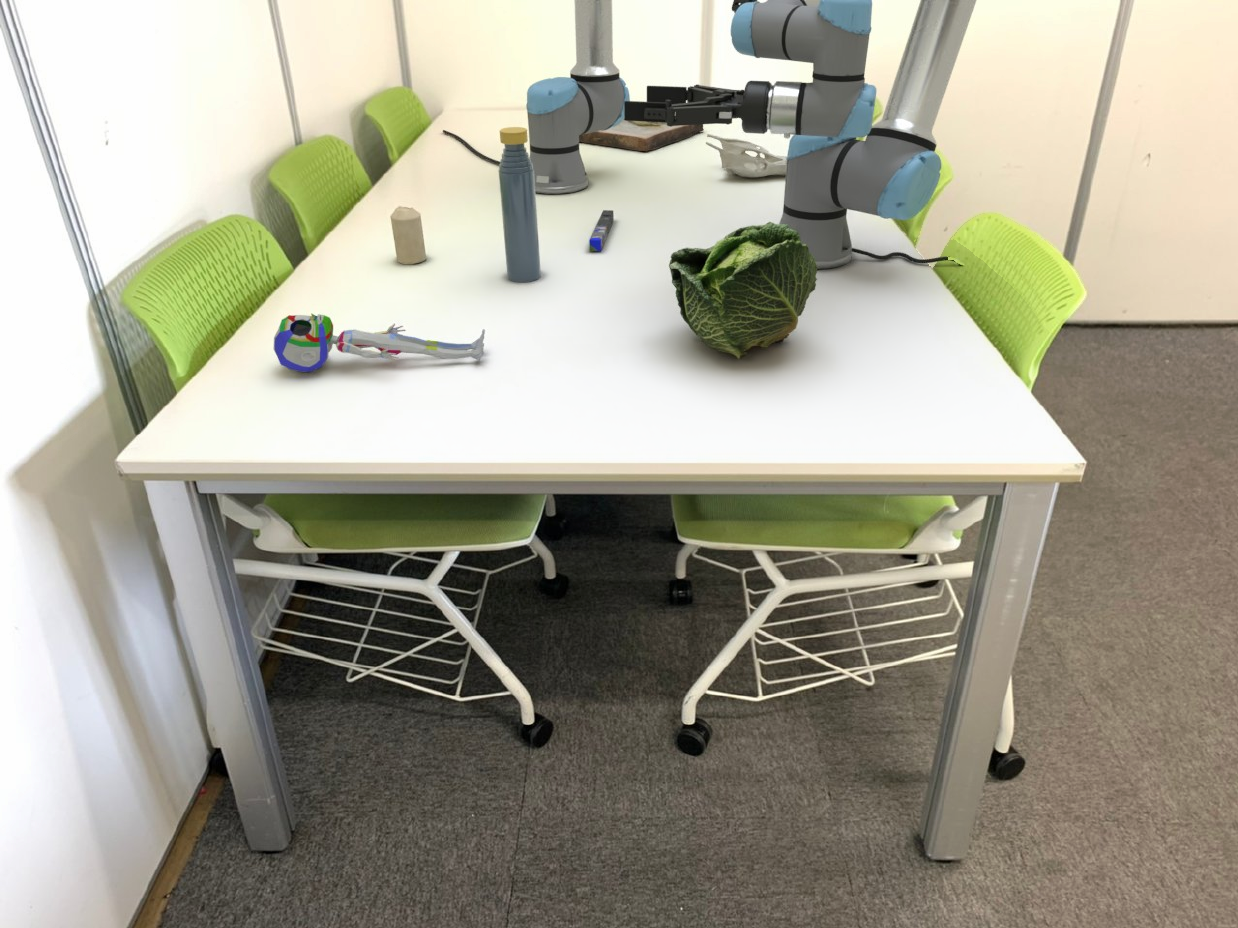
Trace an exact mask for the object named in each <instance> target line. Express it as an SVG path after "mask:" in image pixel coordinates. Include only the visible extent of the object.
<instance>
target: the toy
mask: <svg viewBox="0 0 1238 928" xmlns="http://www.w3.org/2000/svg"><path fill="white" fill-rule="evenodd" d="M401 328H404V325H399V326H396V323H393V324H392V325H390V326H389V327H388V328H387V330H382V331H379V332H378V331H377V332H368V331H363V330H359V329H346V330H343V331H341V332H340V333H339V335H334V324H333V321H332V319H331V317H329V316H327V315H325V314H320V313H319V314H317V315H315V314H314V313H311V315H307V314H306V315H305V314H296V315H294V314H293V315H287V316H286V317H284V318H283V319H281V321H280V324H279V326H278V329H277V331H276V333H275V335H274V336H273V351H274V353H275V355H276V357H277V360H278V362H279V365H281V366H283V367H284V368H287V369H289V370H292V371H297V372H301V373H311V372H313V371H315V370H318V369H320V368H322V367H323V365H324V364H325V363H326V361H327V360H329V359H328V358H329V354H330V352H331V350H332V349H333V345H335V347H336V349H337V351H339V352H340V353H341V354H346V353H347V354H351V355H354V356H360V357H362V358H365V359H378V358H380V359H381V358H382V359H389V360H392V361H395V362H398V360H399V359H400V358H399V357H398V355H400V354H401V353H403V354H416V355H426V356H432V357H435V358H438V359H441V360H457V359H464V358H472V359H475V360H477V361H481V359H482V356H483V355H484V346H485V343H484V340H485V333H486V330H485V328H483V329H482V331H481V335H480V336H479V338H477V339H476V340H475V341H473V342H471V343H455V342H454V343H453V342H446V341H439V340H429V339H427V340H425V339H421V338H418V337H415V336H408V335H403V334H400V333H399V332H406V331H407V329H401ZM367 348H375V349H377V350H378V351H375V350H370V349H367Z"/></svg>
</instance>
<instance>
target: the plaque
mask: <svg viewBox="0 0 1238 928" xmlns="http://www.w3.org/2000/svg"><path fill="white" fill-rule="evenodd" d="M704 130H705V129H704V124H700V125H681V126H672V127H670V126H667V123H665V122H645V121H625V118H624V119H623V120H622V122H621V123H620V124H618V125H617V126H614V127H611V128H609V129H607V130H604V131H601V130H600V131H596V132H592V133H587V134H583V135H579V143H580V142H581V143H586V144H593V145H597V146H598V145H599V146H607V147H612V148H620V149H625V150H632V151H640V152H648V151H654V150H656V149H659V148H662V147H663V146H664V147H665V146H667V145H670V144H672V143H676V142H680V141H682V140H684V139H687V138H691V137H692V136H694V135H696V134H698V133H700V132H704Z"/></svg>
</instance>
